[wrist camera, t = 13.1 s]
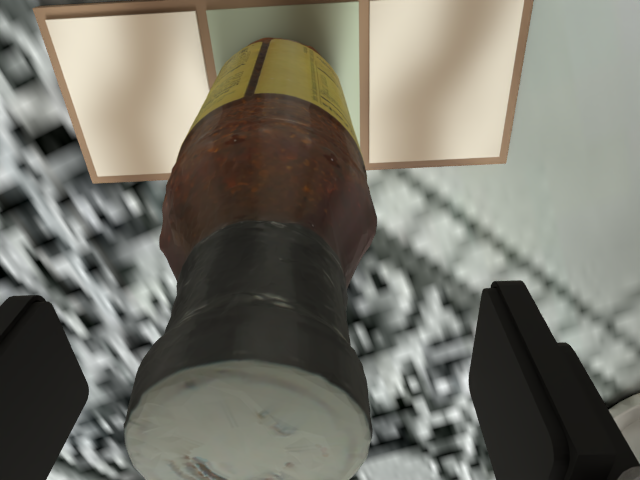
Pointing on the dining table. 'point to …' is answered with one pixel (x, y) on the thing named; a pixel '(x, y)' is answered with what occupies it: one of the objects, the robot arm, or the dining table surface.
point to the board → (309, 29)
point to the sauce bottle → (260, 283)
